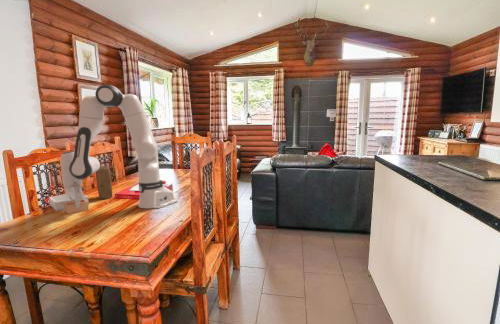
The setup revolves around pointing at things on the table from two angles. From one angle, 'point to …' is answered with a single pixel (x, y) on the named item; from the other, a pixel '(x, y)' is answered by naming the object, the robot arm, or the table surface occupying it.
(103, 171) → the block
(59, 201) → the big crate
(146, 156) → the robot arm
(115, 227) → the table surface
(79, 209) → the small crate
